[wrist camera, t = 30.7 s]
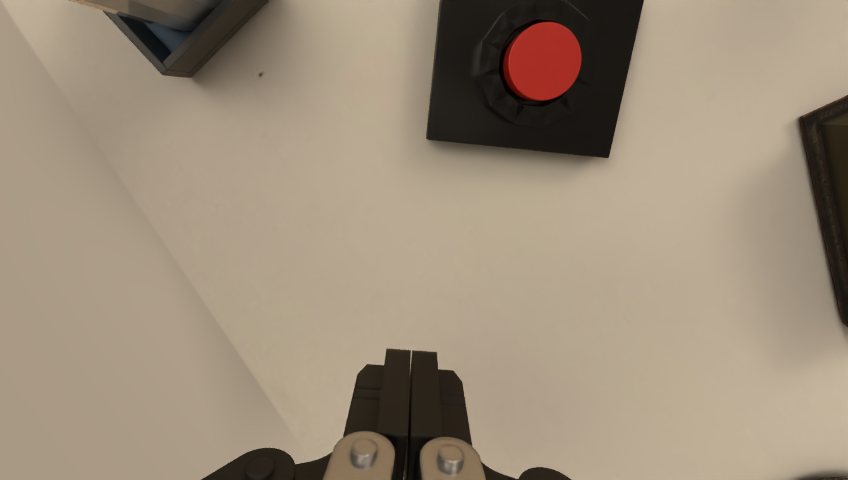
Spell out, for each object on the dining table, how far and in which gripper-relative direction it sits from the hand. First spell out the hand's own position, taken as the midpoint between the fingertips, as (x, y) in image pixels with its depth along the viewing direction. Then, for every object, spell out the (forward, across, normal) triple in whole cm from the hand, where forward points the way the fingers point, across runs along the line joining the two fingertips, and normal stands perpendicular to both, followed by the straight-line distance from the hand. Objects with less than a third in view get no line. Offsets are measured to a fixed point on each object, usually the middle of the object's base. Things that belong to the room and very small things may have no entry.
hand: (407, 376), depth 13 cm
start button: (+16, -6, -11) cm, 20 cm away
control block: (+20, -6, -11) cm, 23 cm away
